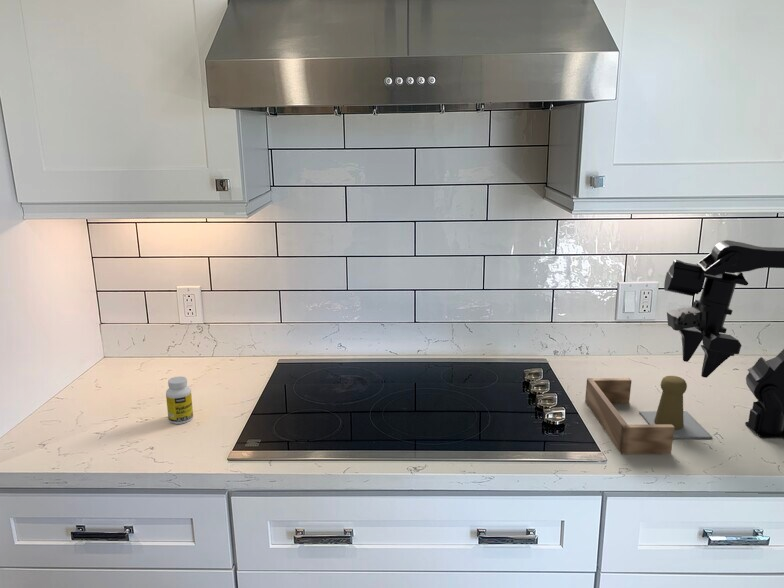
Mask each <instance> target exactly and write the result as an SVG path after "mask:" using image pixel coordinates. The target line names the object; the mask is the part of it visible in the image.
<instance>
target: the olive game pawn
mask: <svg viewBox="0 0 784 588" xmlns="http://www.w3.org/2000/svg"><path fill="white" fill-rule="evenodd" d="M660 388H661V390H662V392H661V396H660V400H659V403H658V406H657V409H656V411H657V413H656V416H655V420H654V423H655V424H672V425H673V426H674V427H675V428H674V430H680V429H682V428H683V426H684V422H683V411H684V394H685V393H686V391H687V388H688V385H687V382H686V380H685V379H684V378H682V377H680V376H677V375H666V376H664V377H662V380H661V381H660Z"/></svg>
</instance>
